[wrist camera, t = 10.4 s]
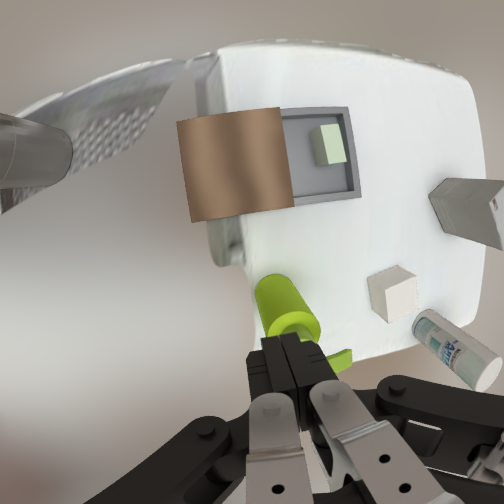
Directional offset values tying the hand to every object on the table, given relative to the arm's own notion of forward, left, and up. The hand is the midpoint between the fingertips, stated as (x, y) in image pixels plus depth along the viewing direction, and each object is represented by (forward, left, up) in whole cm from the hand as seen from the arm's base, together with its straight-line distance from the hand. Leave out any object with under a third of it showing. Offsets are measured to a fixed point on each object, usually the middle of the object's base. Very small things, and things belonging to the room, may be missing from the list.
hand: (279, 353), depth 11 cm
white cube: (+22, -12, -29) cm, 39 cm away
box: (+12, +10, -29) cm, 33 cm away
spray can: (+32, -22, -29) cm, 49 cm away
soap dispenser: (+4, -9, -29) cm, 31 cm away
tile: (+12, +11, -26) cm, 30 cm away
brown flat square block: (0, +10, -29) cm, 31 cm away
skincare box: (+36, 0, -29) cm, 47 cm away
